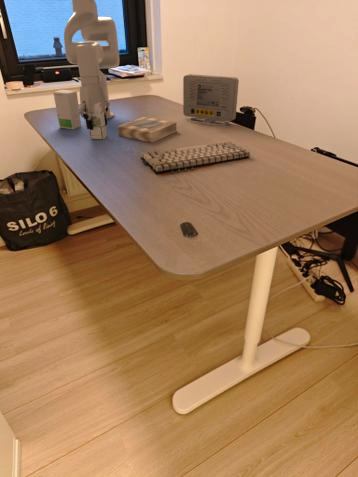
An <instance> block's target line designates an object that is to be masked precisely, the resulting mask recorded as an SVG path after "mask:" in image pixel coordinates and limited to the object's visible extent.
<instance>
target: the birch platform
mask: <svg viewBox="0 0 358 477" xmlns="http://www.w3.org/2000/svg"><path fill="white" fill-rule="evenodd" d="M117 130H118V136H120V137H124V138H130V139H133V140H139V141H143V142H146V143H147V142H148V143H154V142H156V141H158V140H161V139H162V138H164V137H167V136H170V135H172V134H174V133H177V121H170V120H166V119H165V120H164V119H160V118H153V117H147V116H142V117H139V118H137V119H135V120H131V121H129V122H125V123H122V124H120V125H118V126H117Z"/></svg>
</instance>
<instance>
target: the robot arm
mask: <svg viewBox="0 0 358 477" xmlns="http://www.w3.org/2000/svg"><path fill="white" fill-rule="evenodd" d="M71 5H72V16H70V18H69V19H68V21H67V23H66V25H65V28H64V31H63V41H64V43H63V44H64V52H65V57H66V59H67V62H69V64H72V65H77V66H78V73H79V80H80V85H79V103H80V107H79V110H78V112H79V113H80V117H82V118H83V119H84V120H85V124H86V129H87V130H89V129H90V130H93V123H92V120H91V115H92V113H93V112H94V105H95V104H96V103H99V102H100V103H101V106H102V110H104V118H105V126H107V125H108V119H112V118H113V117H114V116H115V114H114V112H112V111H111V107H110V99H109V98H110V97H109V89H108V81H107V77H106V75H105V74H104V73H103V71H101V70H102V69H115V68H118V67H119V66H120V51H119V44H118V43H119V41H118V32H117V25H116V22H115V20H114V19H113V18H112V17H108V16H99V13H98V4H97V3H96V1H95V0H71ZM78 31H80V34H81V35H80V36H81V38H82V40H84V41H73V37H74V35H75V34H76V33H77V32H78ZM103 42H105V43H107V44H105V45H104V44H103V45H102V44H100V43H103ZM100 69H101V70H100ZM86 108H87V109H88V111H86ZM87 113H89V114H88V116H87Z"/></svg>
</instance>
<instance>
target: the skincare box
mask: <svg viewBox="0 0 358 477" xmlns="http://www.w3.org/2000/svg"><path fill="white" fill-rule="evenodd" d="M53 96H54V97H53V98H54V104H55V108H56V109H55V110H56V115H57V120H58V121H57V122H58V127H59V129H60V128H62V129H68V130H76V129H78V128H81V127H82V120H81V114H80V113H79V112H78V110H79V109H80V107H79V106H80V105H79V98H78V92H77V91H76V90H69V89H68V90H67V89H60V90H56V91H53Z"/></svg>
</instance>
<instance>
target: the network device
mask: <svg viewBox="0 0 358 477" xmlns="http://www.w3.org/2000/svg"><path fill="white" fill-rule="evenodd" d="M182 81H183V83H182V84H183V85H182V86H183V88H182V90H183V92H182V94H183V97H182V100H183V107H182V108H183V109H182V110H183V111H182V113H183V115H184V116H185V117H190V118H189V119H188V122H189V123H193V124H201V125H208V126H217V127H224V126H227V125H228V124H229V122H232V121H233V120H235V119H236V117H237V108H238V107H237V106H238V95H239V94H238V93H239V83H240V82H239V78H238V77H235V76H221V75H220V76H219V75H208V74H207V75H205V74H192V73H190V74H186V75H184V76H183V79H182ZM196 118H199V119H200V120H204V121H197V120H196ZM199 119H198V120H199ZM213 122H214V123H213ZM215 122H221V123H215ZM222 122H223V123H222Z"/></svg>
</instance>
